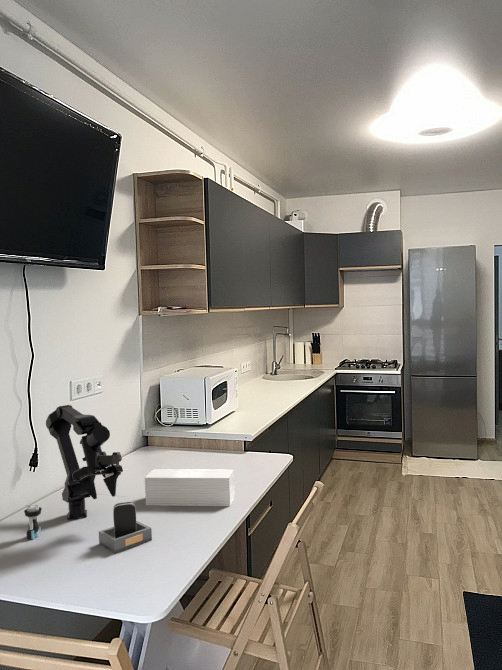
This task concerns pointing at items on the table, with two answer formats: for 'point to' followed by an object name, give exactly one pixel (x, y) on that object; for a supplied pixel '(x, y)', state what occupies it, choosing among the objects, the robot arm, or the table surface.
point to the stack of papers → (190, 487)
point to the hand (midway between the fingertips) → (104, 497)
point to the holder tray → (125, 538)
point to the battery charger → (124, 519)
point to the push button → (33, 521)
